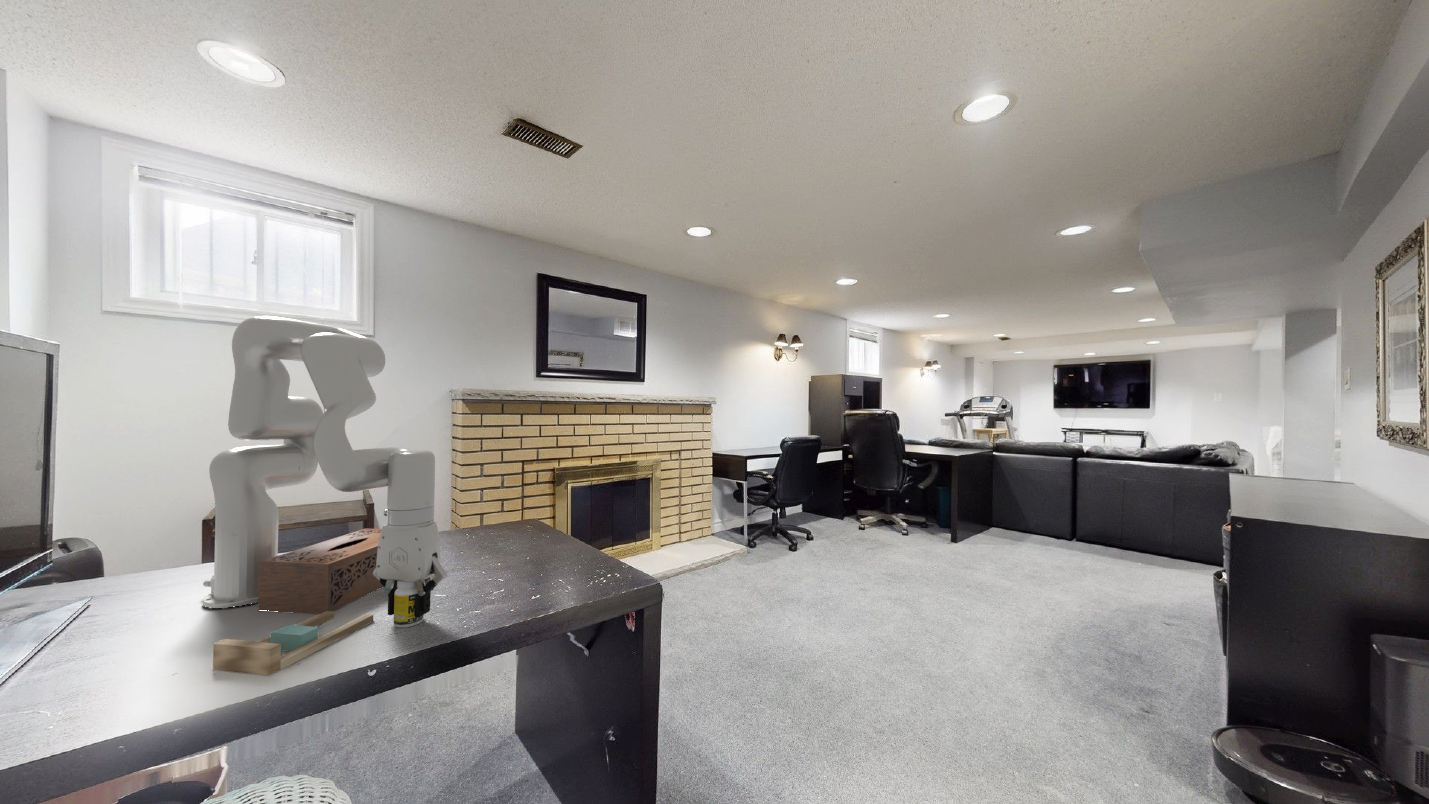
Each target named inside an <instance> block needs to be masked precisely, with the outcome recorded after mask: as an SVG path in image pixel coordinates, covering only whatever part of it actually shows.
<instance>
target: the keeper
mask: <svg viewBox="0 0 1429 804" xmlns="http://www.w3.org/2000/svg"><path fill="white" fill-rule="evenodd" d="M269 637H270V643H277V644H281V652H291V651H293V650H295V649H297V648H299V647H301V646H303V645H305V644H307V643H309V642H311V641H313V640H315V639H317V638H319V627H318V626H316V627H312V626H301V625H297V624H287V625H285V626H282V627H281V628H278V629H276V630H273V631H271V632H270V636H269Z"/></svg>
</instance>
